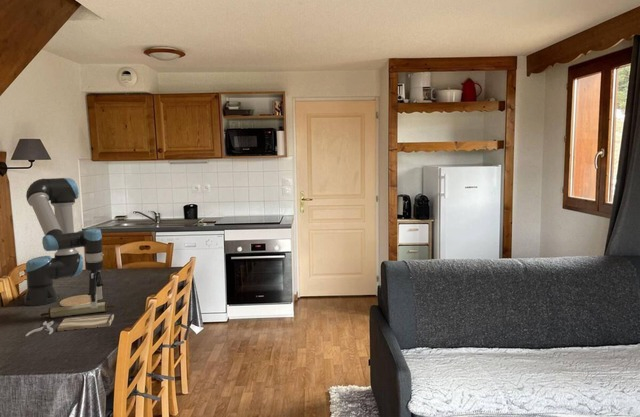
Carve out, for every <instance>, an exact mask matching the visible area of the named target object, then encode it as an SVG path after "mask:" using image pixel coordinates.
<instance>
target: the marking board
mask: <svg viewBox="0 0 640 417" xmlns="http://www.w3.org/2000/svg"><path fill="white" fill-rule="evenodd" d="M114 318H115V313H109V314H108V313H107V314H99V315H98V314H97V315H87V316H76V317H66V318H64V319H63V320H62V321H61V322H60V324H59V325H58V327H56V328H57V332H65V331H64V330H67V331H75V330H74V329H77V330H85V328H87V329H95V328H97V327H98V328H105V327H111V324H112V323H113V321H114ZM98 328H97V329H98Z"/></svg>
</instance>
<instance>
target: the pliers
mask: <svg viewBox="0 0 640 417" xmlns="http://www.w3.org/2000/svg"><path fill="white" fill-rule="evenodd" d="M52 325H54V320H51V321H49V322H47V320H45V321H44V322H43V323H42V326H41V327H39V328H35V329H31V330H30V331H29V332H27V333H25V336H24V337H28V336H30V335H31V334H33V333H37V332H40V331H42V330H43V329H44V331H47V332H48V335H51V334H53V332H54V328H53V327H51V326H52Z"/></svg>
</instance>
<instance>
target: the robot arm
mask: <svg viewBox="0 0 640 417" xmlns="http://www.w3.org/2000/svg"><path fill="white" fill-rule="evenodd" d="M79 194H80V193H79V188H78V185H77V183H76V181H75V180H74V179H73V178H69V177H62V178H61V177H60V178H41V179H37V180H34V181H33V182H32V183H31V184H30V185H29V186H28V188H27V189H26V196H25V197H26V202H27V203H28V205H29V206H30V207H32V209H33V211H34V214H35V216H36V218H37V221H38V223H39V226H40V228H41V229H42V232H43V235H44V236H43V237H42V241H41V242H42V243H41V244H42V247H43V249H44V251H46V252H55V253H54V257H52V256H50V255H43V256H37V257H34V258H31V259H29V260H27V261H26V263H25V273H26V274H25V275H26V288H27V290H26V292H25V296H24V302H23V303H24V305H25V306H42V305H47V304H51V303H54V302H57V301H58V300H59V299H58V293H57V290H56V289H55V287H54V280H55V281H56V280H60V279H64V278H66V279H67V278H73V277H76V276H80V275H81V274H82V272H83V269H84V259H85V270H86V271H90V273H89V275H88V276H89V280H88V281H89V283H88V285H89V286H88V294H87V295H88V296H89V299H90V300H89V301H90V303H89V304H91V308H97V303H98V300H103V290H102V289H103V288H102V287H104V283H103V280H102V271H101V270H102V269H103V268H104V261H103V256H104V255H105V254H104V253H103V239H102V238H103V235H102V230H101V229H99V228H87V229H84V230H79V231H77V232H76V231H75V229H74V228H75V227H74V215H73V214H74V213H73V205H74V204H75V203H76V200H77V199H78V198H79ZM51 206H52V207H53V208H54V210H53V208H52V207H51ZM76 248H84V257H85V258H83V255H82V254H80V253H79V250H77V249H76Z"/></svg>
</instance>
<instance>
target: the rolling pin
mask: <svg viewBox="0 0 640 417" xmlns="http://www.w3.org/2000/svg"><path fill="white" fill-rule="evenodd" d="M115 307H116V305H115V304H111V305H108V302H107V301H104V302H103V301H102V302H97V308H91V304H90V303H83V304H75V305H68V306H67V305H66V306H60V307H53V308H52V307H50V308H48V312H43V313H42V312H41V313H40V317H44V316H48V319H53V318H54V319H55V318H61V317H68V316H69V317H70V316H77V315H78V316H79V315H85V314H94V313H102V312H106V313H108V308H115Z"/></svg>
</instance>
